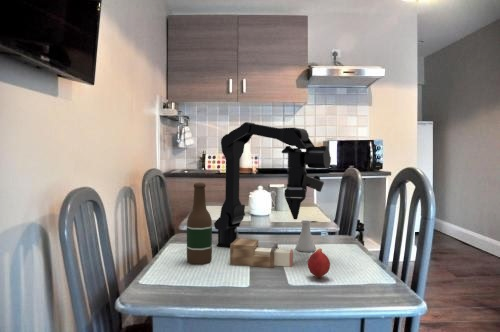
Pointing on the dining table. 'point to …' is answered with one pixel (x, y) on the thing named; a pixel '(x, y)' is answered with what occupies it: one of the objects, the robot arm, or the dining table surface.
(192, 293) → the dining table surface
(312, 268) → the onion
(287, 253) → the pink-topped cream pillar
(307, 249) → the flask
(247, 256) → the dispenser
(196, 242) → the beer bottle
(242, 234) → the dining table surface
